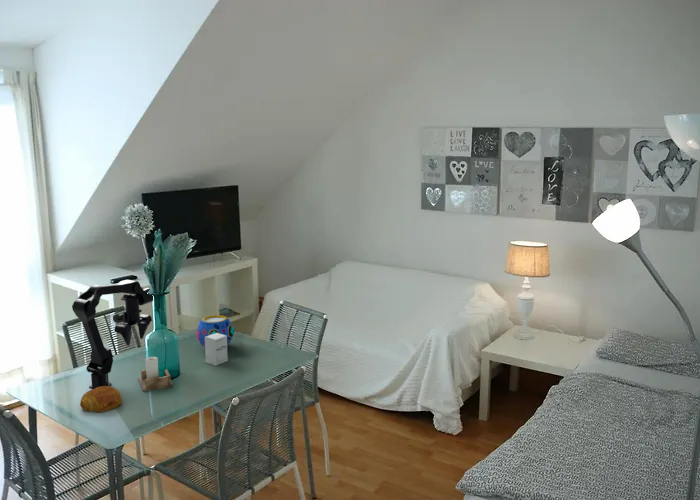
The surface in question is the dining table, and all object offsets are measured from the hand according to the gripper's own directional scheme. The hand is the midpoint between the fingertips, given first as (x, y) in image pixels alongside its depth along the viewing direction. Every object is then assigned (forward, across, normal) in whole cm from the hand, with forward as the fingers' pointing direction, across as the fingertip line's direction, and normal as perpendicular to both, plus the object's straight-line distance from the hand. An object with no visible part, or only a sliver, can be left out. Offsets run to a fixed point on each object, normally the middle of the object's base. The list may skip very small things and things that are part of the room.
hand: (134, 341), depth 281 cm
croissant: (+13, +35, +10) cm, 39 cm away
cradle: (+13, +10, +17) cm, 24 cm away
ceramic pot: (+13, -36, +19) cm, 43 cm away
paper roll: (+12, +10, +16) cm, 23 cm away
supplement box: (+13, -20, +29) cm, 38 cm away
